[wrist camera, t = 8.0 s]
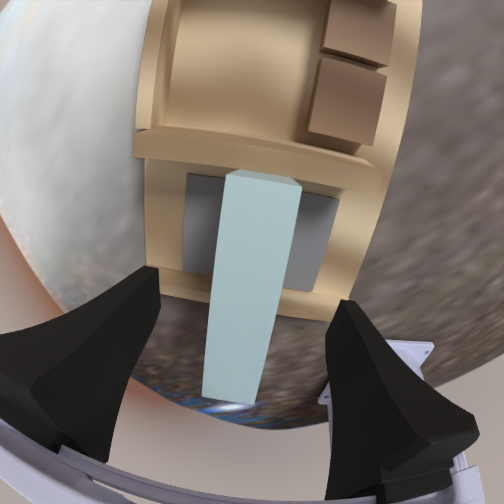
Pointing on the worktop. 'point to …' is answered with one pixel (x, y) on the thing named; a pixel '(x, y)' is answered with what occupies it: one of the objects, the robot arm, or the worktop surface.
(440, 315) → the worktop surface
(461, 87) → the worktop surface
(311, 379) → the worktop surface
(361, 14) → the offcut
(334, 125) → the offcut
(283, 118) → the rack
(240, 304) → the panel
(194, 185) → the felt pad
